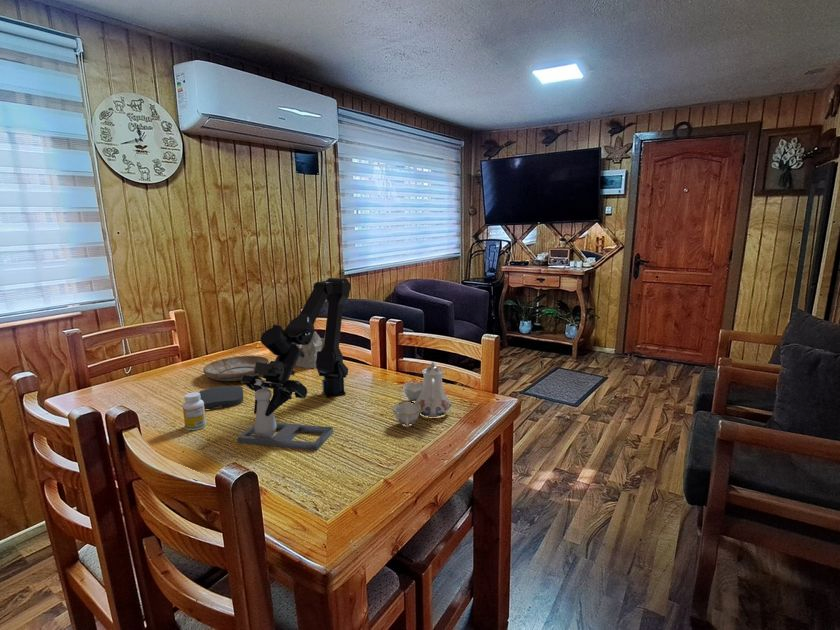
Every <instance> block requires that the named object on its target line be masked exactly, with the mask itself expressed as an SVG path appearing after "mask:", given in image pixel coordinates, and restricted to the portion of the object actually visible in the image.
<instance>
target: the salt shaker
mask: <svg viewBox="0 0 840 630" xmlns="http://www.w3.org/2000/svg"><path fill="white" fill-rule="evenodd" d="M272 397H273V392H272V390H271V389H270V388H268V389H259V390H257V391H256V392H255V391H254V399H256V400H258V401H257V412H256V414H255V420H254V424H255V427H254V430H255V434H256V435H257V437H263V438H273V437H274V436H275V433H276V430H277V429H276V427H277V424H276V422H277V420H276V417H275V414H274V412H273V413H272V414H270V415H269V416H266V415H265V413H266V410H267V408H268V405H269V403H270V401H271V399H272Z"/></svg>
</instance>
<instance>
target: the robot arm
mask: <svg viewBox="0 0 840 630" xmlns="http://www.w3.org/2000/svg"><path fill="white" fill-rule="evenodd" d="M312 287H313V289H312V291H311V292H310V294H309V296H308V298H307V300H306V301H305V304H304V306H303V307H302V310H301V311H300V313H299V314H298V315H297V316H296V317H295V318H293V319H291V320H290V322H289V323H288V324H287V326H286V327H285V329H283V327H282V326H281V325H280V324H273V326H272V327H271V328H269V329H267V330H266V331H264V332H262V334H261V336H260V343H261V344H262V345H263V346H264V347H265V348H266V349H267V350H269V352H271V354H273V355H275V356H276V358H275V359H274V360H271V361H269V364H267V363H260V362H256V365H255V369H254V374H259V375H261V377H260V376H259V375H253V374H246V375H244V376H243V378H242V380H240V383H242V384H243V385H244V386H246V387H247V388H249V390H251V391H254V393H255V392H256V391H257V390H259V389H269V390H272V396H271V398H270V403H269V405H268V408H267V410H266V413H265V415H266V416H269V415H270V414H272V413H274V412H275V411H276V410H277V409H278V408H280V407H281V406H282V405H284V404H285V403H287V401H289V400H292V399H293V397H292V395H293V393H294V396H295V397H296V398H297V399H306V397H307V395H308V388H307V387H306V386H305V385H304V384H303V383H301V382H300V381H299V380H294V379H290V378H291V376H295V374H296V372H295V370H294V369H295V366H296V362H297V360H298V358H299V357H304V353H303V349H302V348H298V347H297V346H296V345H307V344H309V343H310V341H311V339H312V337H313V334H314V332H316V331H315V326H314V325H315V322H316V320H317V319H318V316H319V313H321V310H322V308H323V307H324V305H325V303H326V302H327V311H326V314H327V315H326V323H325V333H324V336H325V341H324V347H323V348H322V350H321V351H318V352H317V359H316V369H317V373H318V376H319V377H323V379H322V380H321V386H322V389H321V390H322V393H323V394H324V395H325V397H328V398H330V397H331V398H332V397H337V396H342V395H343V396H344V395H346V393H347V392H346V391H345V378H347V376H348V374H349V367H348V366H346V364H345V363H344V359H343V358H344V356H343V353H342V351H341V349H340V339H341V331H342V330H341V328H342V320H343V310H344V309H343V308H344V304H345V303H346V302H347V300H348V299H349V298H350V294H351V293H350V292H351V289H352V284H351V282H350V281H349V279H347V278H346V277H345V278H342V277H328V278H327V279H326V280H322V281H316V282H314V284H313V286H312ZM262 378H263V379H262ZM264 379H265V380H264ZM254 399H255V398H254ZM257 401H258V400H256V399H255V400H254V407H253V413H254V414H255V415H256V412H257Z"/></svg>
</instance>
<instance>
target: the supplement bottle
mask: <svg viewBox="0 0 840 630" xmlns="http://www.w3.org/2000/svg"><path fill="white" fill-rule="evenodd" d="M199 392H200V391H198V392H197V391H196V392H189V393H186V394H185V395H184V396H183V397H184V401H185V402H183V403H182V411H183V413H182V414H183V420H184V421H183V422H184V428H185V430H186V431H190V430H192V431H198V430H201V429H203V428H205V427H206V426H207V421H206V412H205V411H206V410H205V408H204V402H203V400H201V399H200V398H201V396H200V393H199Z"/></svg>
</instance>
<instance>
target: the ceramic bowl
mask: <svg viewBox="0 0 840 630" xmlns="http://www.w3.org/2000/svg"><path fill="white" fill-rule="evenodd" d="M256 362H260V363H267V364H269V363H270V360H269V359H268V358H267V357H265V356H260V355H239V356H233V357H227V358H221V359H218V360H214V361H212V362H210V363H207V364H206V365H205V366H203V373H204V375H205V376H206V377H208V378H209V379H212V380H215V381H219V382H238V381H239V382H241V380H242V378H243V376H244V375H246V374H253V375H257V376H259V375H260V374H254V369H255V365H256Z"/></svg>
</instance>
